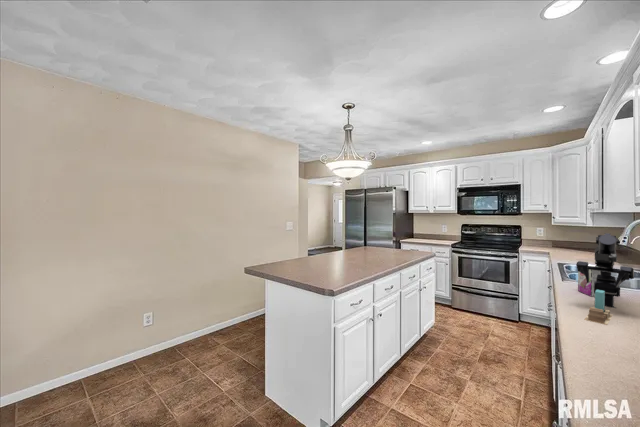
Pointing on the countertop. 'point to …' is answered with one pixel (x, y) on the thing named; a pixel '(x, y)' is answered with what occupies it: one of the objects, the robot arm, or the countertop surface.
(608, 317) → the rack
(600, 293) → the teal panel
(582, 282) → the candy bar box
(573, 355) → the countertop surface
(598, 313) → the offcut stack
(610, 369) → the countertop surface
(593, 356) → the countertop surface
